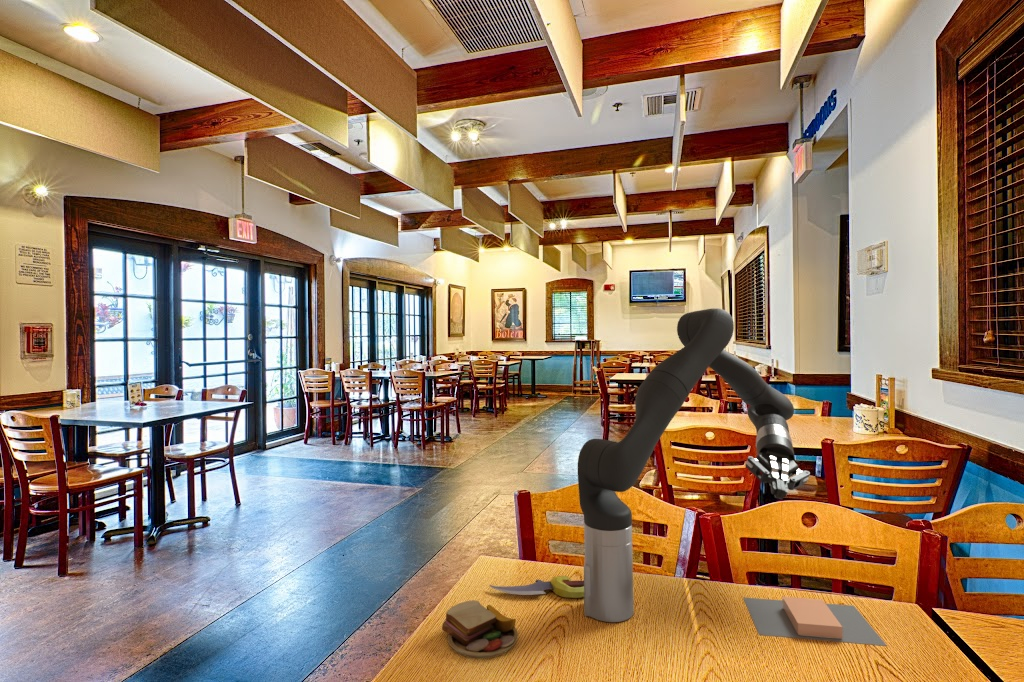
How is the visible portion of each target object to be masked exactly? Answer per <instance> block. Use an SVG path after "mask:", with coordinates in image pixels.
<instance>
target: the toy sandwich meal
mask: <svg viewBox="0 0 1024 682" xmlns="http://www.w3.org/2000/svg"><path fill="white" fill-rule="evenodd" d="M516 621H517V619H516V618H511V617H507V616H505V615H504V614H502V613H501V612H500V611H498V610H497V609H496V608H495V607H494V606H492V605H491V604H487V605H486V607H485V606H483V605H482V604H481V603H480V602H479V601H478V600H476V599H475V600H467V601H463V602H460V603H457V604H455V605H453V606H451V607H450V608H449V609H448V610H446V615H445V620H444V621H443V623H442V625H441V630H442V631H443V632H446V633H447V634H448V635H447V642H448V644H449V646H450V647H451V648H452V650H454V651H455V652H457V654H460V655H461V656H464V657H467V658H471V659H491V658H494V657H498V656H501V655H503V654H505V653H507V651H509V650H511V648H512V647H513V646H514V645H515V644H516V643H517V641H518V639H519V638H518V637H519V632H518V629H517V628H516V623H517V622H516Z"/></svg>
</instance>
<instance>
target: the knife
mask: <svg viewBox="0 0 1024 682" xmlns="http://www.w3.org/2000/svg"><path fill="white" fill-rule="evenodd" d="M489 587H490V588H492V589H493V590H496V591H500V592H502V593H506V594H512V595H520V596H521V595H524V596H525V595H526V596H532V595H545V594H547V593H546V592H545V590H552V592H553V593H554V594H555V595H557V596H559V597H562V598H566V599H567V598H571V599H572V598H573V599H580V598H581V599H582V598H584V580H572V579H571V578H569V576H568V575H557V576H553V577H552V578H551V579H550V581H543V580H541V579H536V580H535V582H534V583H531V584H530V583H529V584H526V585H525V584H524V585H515V586H513V585H512V586H511V585H509V586H507V585H506V586H499V585H498V586H497V585H496V586H495V585H493V584H489Z"/></svg>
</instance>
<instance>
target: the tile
mask: <svg viewBox="0 0 1024 682" xmlns="http://www.w3.org/2000/svg"><path fill="white" fill-rule="evenodd" d="M781 598H782V599H781V600H782V602H783V609H784V610H785V612H786V614H787V616H788V617H789V619H790V621H791V623H792V625H793V626H794V628H795V630H796V632H797V633H798V635H801V636H813V637H824V638H836V639H841V638H842V639H843V628H842V626H841V624H840V623H839V621H838V620H837V619H836V617H835V616H834V615H833V613H832V612H831V610H830V609H829V608H828V606H827V605H826V604H827V603H826V602H825V601H824V600H823V598H821V599H820V598H810V597H809V598H807V597H806V598H805V597H794V596H782V597H781Z"/></svg>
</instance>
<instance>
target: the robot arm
mask: <svg viewBox="0 0 1024 682" xmlns="http://www.w3.org/2000/svg"><path fill="white" fill-rule="evenodd" d="M734 324H735V322H734V320H733V317H732V315H731V314H730V313H729V312H728V311H727V310H725V309H722V308H707V309H701V310H694V311H691V312H690V311H689V312H687V313H684V314H683V315H682V316H681V317H679V319H678V321H677V324H676V325H677V326H676V332H677V333H676V334H677V336H678V337H677V338H678V339H679V341H680V342H681V345H683V346H684V347H682V348H681V349H680V350H678V351H676V352H675V353H673V354H671V355H670V356H669V357H667V358H665V359H663V360H662V361H661V362H659V363H658V364H657V365H655V366H654V367H653V368H652V370H651V371H650V372H649V373H648V375H647V376H646V377H645V379H644V380H643V381H642V382H641V384H640V385H639V387H638V389H637V391H636V394H635V407H634V408H635V418H634V419H635V420H634V423H633V425H632V426H631V428H630V429H629V431H628V432H627V433H626V435H625V436H624V437H623V438H622V439H621V440H620V441H614V440H608V439H603V438H591V439H588V440H587V441H586V442H585V443H584V444H583V445H582V446H581V449H580V452H579V453H578V458H577V482H578V483H577V486H578V498H579V506H580V510H581V511H582V514H583V528H584V529H583V530H584V531H583V535H584V536H583V538H584V539H583V540H584V564H583V581H584V597H583V602H584V603H583V604H584V607H583V608H584V613H583V614H584V617H590V618H592V619H595V620H597V621H599V622H600V621H601V622H605V623H621V622H624V621H626V620H629V619H631V618H632V617H633V615H634V612H635V611H634V610H635V609H634V602H635V601H634V600H635V599H634V571H633V570H634V568H633V566H634V565H633V564H634V561H633V557H634V555H633V515H632V514H633V513H632V509H631V508H630V507H629V506H628V505H627V504H626V503H625V502H624V501H623V500H621V498H620V497H619V496H618V494H617V493H624V492H626V491H628V490H630V489H631V488H632V487H633V486H634V485H636V482H637V481H638V479H639V478H640V476H641V475H642V472H643V470H644V469H645V466H647V465H646V464H647V463H648V461H649V459H650V457H651V456H652V454H653V452H654V449H655V447H656V446H657V445H658V442H659V441H660V439H661V437H662V436H663V434H664V432H665V431H666V429H667V427H668V426H669V425H670V423H671V421H672V420H673V419H674V417H675V416H676V415H677V413H678V412H679V410H681V408H682V406H683V405H684V404H685V402H686V400H687V398H688V397H689V395H690V393H691V392H692V390H693V389H694V387H695V386H696V385H697V383H698V382H699V380H700V379H701V378H702V377H703V375H704V373H705V372H706V371H707V370H708V368H710V369H711V370H712V371H714V372H715V373H716V374H717V375H718V376H720V377H721V378H722V379H723V380H724V382H726V383H727V384H728V386H730V387H731V390H733V391H734V392H735V394H736V395H737V396H738V397H739V399H740V400H742V402H743V403H744V404H746V405H749V406H748V407H747V411H746V412H747V417H748V418H749V420H750V422H751V423H752V424H753V426H754V427H755V429H756V439H755V448H756V457H755V458H754V457H753V456H752V455H751V456H750V455H748V457H747V459H746V463H745V468H746V469H747V470H748V471H750V472H751V474H752V475H754V476H755V478H757V479H758V480H759V481H760V482H761V483H763V484H766V483H768V484H769V487H770V493H771V495H773V496H774V498H775V499H779V500H783V499H784V498H785V499H786V497H787V495H788V492H789V490H790V491H794V490H795V489H798V488H800V487H802V486H803V485H805V484H807V482H808V480H809V478H810V475H811V472H810V471H809V470H801V469H800V468H799V465H798V463H796V456H795V451H794V445H793V440H792V438H791V435H790V430H789V424H788V422H787V421H788V420H790V419H791V418H792V417H793V416H794V414H795V413H794V412H795V408H794V405H793V403H792V401H791V400H790V399H789V398H788V397H787V396H786V395H785V394H784V393H782V392H781V391H779V390H777V389H776V388H774V387H772V386H771V385H769V384H768V383H767V382H766V381H765V380H764V378H763V377H762V376H761V375H760V373H759V372H758V371H757V370H756V369H755V368H754V367H753V366H752V365H750V364H749V363H747V362H746V361H745V360H743V359H741V358H740V357H738V356H736V355H734V354H732V353H730V352H729V351H727V350H726V349H725V348H726V347H727V346H728V345H729V344H730V342H731V339H732V337H733V335H734V331H735V330H734V328H735V327H734V326H735V325H734ZM616 492H617V493H616Z"/></svg>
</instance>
